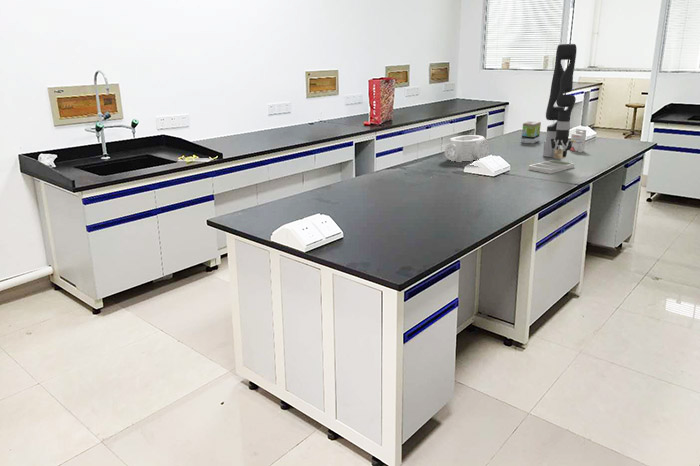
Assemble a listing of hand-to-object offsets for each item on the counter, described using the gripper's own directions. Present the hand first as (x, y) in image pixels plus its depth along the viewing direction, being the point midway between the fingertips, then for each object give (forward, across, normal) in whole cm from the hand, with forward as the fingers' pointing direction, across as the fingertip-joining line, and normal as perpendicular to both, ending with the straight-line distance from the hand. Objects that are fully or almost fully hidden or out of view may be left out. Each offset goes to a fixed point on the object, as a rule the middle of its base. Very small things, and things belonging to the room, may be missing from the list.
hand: (560, 156), depth 334 cm
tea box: (+6, -64, +61) cm, 89 cm away
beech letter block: (+1, 0, 0) cm, 1 cm away
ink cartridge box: (+6, -20, +53) cm, 57 cm away
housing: (+7, -54, -21) cm, 59 cm away
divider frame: (+7, 0, -8) cm, 10 cm away
